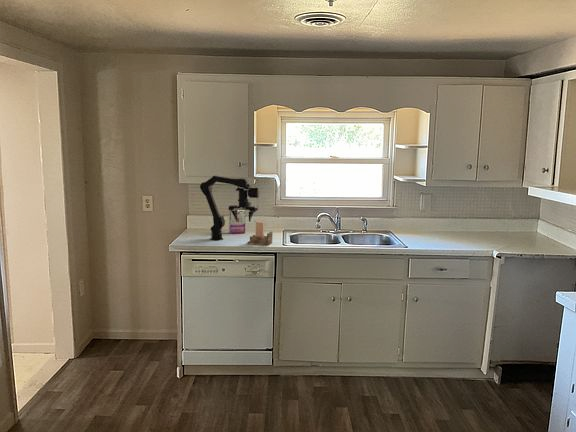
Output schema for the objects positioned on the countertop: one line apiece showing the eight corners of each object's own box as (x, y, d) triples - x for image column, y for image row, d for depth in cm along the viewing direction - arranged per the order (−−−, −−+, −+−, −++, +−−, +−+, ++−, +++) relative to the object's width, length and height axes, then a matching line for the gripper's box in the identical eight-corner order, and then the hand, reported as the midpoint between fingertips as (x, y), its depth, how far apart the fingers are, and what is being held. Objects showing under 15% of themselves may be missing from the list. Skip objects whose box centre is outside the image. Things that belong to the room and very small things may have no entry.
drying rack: (247, 243, 307) (247, 232, 306) (252, 241, 314) (252, 230, 313) (268, 245, 303) (268, 233, 302) (272, 242, 310) (272, 231, 309)
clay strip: (255, 241, 308) (255, 221, 306) (256, 241, 310) (257, 221, 308) (262, 242, 306) (263, 222, 304) (264, 241, 309) (264, 222, 307)
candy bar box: (243, 232, 345) (243, 209, 343) (245, 233, 341) (245, 210, 338) (228, 232, 341) (228, 210, 338) (230, 234, 336) (230, 211, 334)
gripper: (260, 197, 315) (260, 220, 318) (234, 195, 321) (235, 218, 323) (254, 198, 305) (254, 222, 307) (227, 197, 311) (228, 221, 313)
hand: (243, 221), depth 313 cm, fingers open, 9 cm apart
